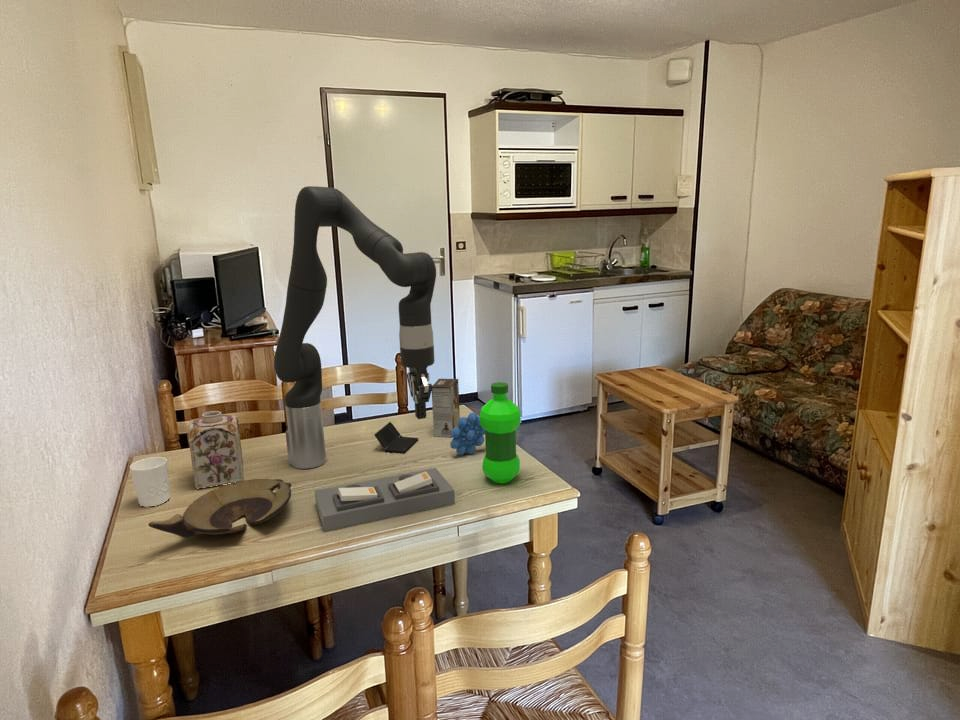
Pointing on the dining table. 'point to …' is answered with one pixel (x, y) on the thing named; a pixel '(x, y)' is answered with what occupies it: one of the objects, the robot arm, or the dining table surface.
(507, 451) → the plastic bottle
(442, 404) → the coffee box
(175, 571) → the dining table surface
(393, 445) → the handheld gaming console
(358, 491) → the left rocker
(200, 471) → the decorative jar
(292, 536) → the dining table surface
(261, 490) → the oil lamp
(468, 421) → the grapes
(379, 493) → the rocker switch panel
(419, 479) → the right rocker
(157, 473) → the white cup
